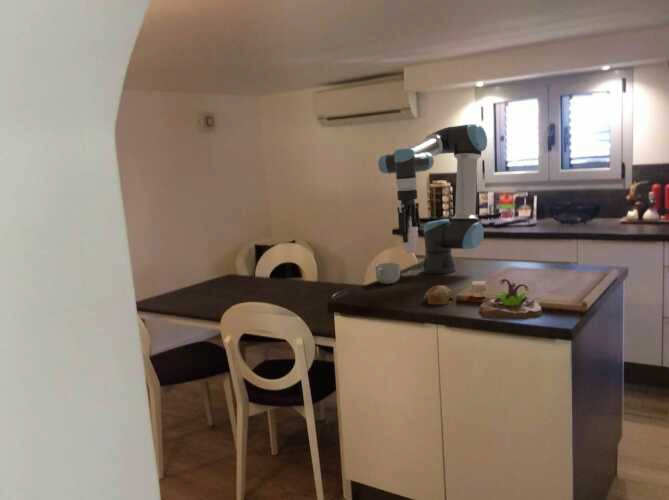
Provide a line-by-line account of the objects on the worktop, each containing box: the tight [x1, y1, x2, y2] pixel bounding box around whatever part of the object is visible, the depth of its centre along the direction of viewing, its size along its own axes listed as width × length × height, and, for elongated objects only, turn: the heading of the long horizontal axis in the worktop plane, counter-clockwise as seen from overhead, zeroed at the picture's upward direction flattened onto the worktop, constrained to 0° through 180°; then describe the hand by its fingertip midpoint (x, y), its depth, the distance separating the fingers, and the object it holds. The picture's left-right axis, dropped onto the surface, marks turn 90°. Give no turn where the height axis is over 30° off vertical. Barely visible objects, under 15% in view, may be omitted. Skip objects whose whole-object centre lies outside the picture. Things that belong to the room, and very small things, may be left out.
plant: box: [479, 278, 543, 320], centre depth 199 cm, size 20×20×11 cm
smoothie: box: [406, 217, 419, 254], centre depth 233 cm, size 6×6×14 cm
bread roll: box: [423, 284, 455, 306], centre depth 219 cm, size 10×10×8 cm
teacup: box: [374, 262, 401, 285], centre depth 258 cm, size 14×11×8 cm
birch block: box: [470, 280, 488, 292], centre depth 223 cm, size 5×5×5 cm
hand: (411, 248), depth 234 cm, fingers closed on smoothie, 6 cm apart
